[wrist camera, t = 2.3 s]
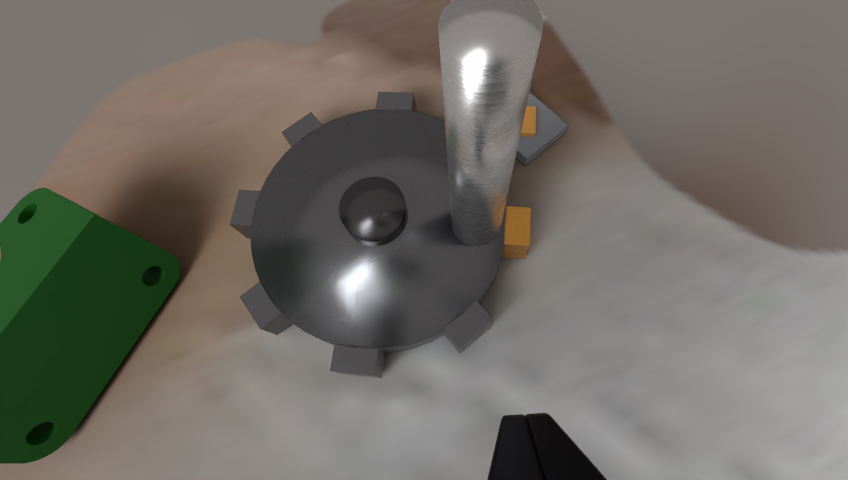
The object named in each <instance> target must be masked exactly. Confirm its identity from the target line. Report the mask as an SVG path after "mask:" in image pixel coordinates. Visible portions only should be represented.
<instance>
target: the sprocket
mask: <svg viewBox="0 0 848 480" xmlns="http://www.w3.org/2000/svg"><path fill="white" fill-rule="evenodd" d="M438 29H439V44H440V59H441V73H442V88H443V103H444V117H445V122H444V121H442V120H440V119H438V118H436V117H433V116H430V115H427V114H424V113H419V112H416V105H415V99H414V93H396V92H378V98H377V104H376V109H375V110H367V111H361V112H357V113H353V114H349V115H346V116H343V117H340V118H337V119H335V120H332V121H330V122H328V123H326V124H324V125H322V124H321V123H320V122H319V121H318V119H317V118H316V117H315V116H314V115H313V114H312V113H311V112H310V113H309V114H307V115H306V116H305V117H303V118H302V119H300V120H299V121H297V122H296V123H294V124H293V125H292V126H290V127H289V128H287V129H286V130H284V131H283V132H282V134H283V135H284V137H285V138H286V140H287V141H288V143H289V144H290V145H291V148H290V149H289V150H288V151H287V152H286V153H285V154H284V155H283V157H282V158H281V159H280V160H279V161H278V163H277V164H276V165H275V166H274V168H273V169H272V171H271V173H270V174H269V176H268V177H267V179H266V181H265V183H264V185H263V187H262V189H261V191H250V190H239V193H238V197H237V200H236V204H235V207H234V211H233V214H232V218H231V222H230V225H231V226H232V227H233V228H235V229H236V230H237V231H239V232H240V233H241V234H243V235H244V236H245V237H247V238H251V249H252V257H253V261H254V266H255V270H256V272H257V275H258V277H259V280H260V282H259V283H257V284H256V285H255V286H253V287H252V288H251V289H249V290H248V291H247V292H245V293H244V294H243V295H241V296H240V298H241V300H242V301H243V303H244V304H245V306H246V307H247V309H248V311H249V312H250V314H251V315H252V317H253V318H254V320H255V321H256V323H257V324H258V326H259V328H260V329H262V330H265V331H268V332H271V333H273V334H276V335H278V334H279V333H281V332H282V331H283V330H285V329H286V328H287V327H288V326H290V325H291V324H292V323H293V324H295V325H296V326H298V327H299V328H301V329H302V330H304V331H305V332H307V333H309V334H311V335H313V336H315V337H317V338H319V339H321V340H323V341H326V342H328V343H330V344H333V345H334V351H333V357H332V363H331V368H330V371H333V372H337V373H342V374H351V375H360V376H369V377H378V378H382V373H383V365H384V358H385V353H389V352H399V351H403V350H407V349H412V348H416V347H418V346H421V345H424V344H426V343H429V342H431V341H433V340H435V339H437V338H439V337H441V336H443V335H445V336H446V337H447V338H448V339H449V341H450V342H451V343H452V344H453V346H454V347H455V348H456V349H457V350H458V352H459V353H461V352H462V351H464V350H465V349H466V348H467V347H468V346H469V345H471V344H472V343H473V342H474V341H475V340H476V339H478V338H479V337H480V336H481V335H482V334H483V333H485V332H486V331H487V330H488V329H489V328H490V327H491V326H492V323H493V319H492V318H491V317H490V315H489V314H488V313H487V312H486V311H485V310H484V309H483V307H482V306H481V305H480V304H479V303H480V302H481V301H482V299H483V298H484V296H485V295H486V293H487V291H488V290H489V288H490V286H491V285H492V282H493V280H494V278H495V275H496V273H497V271H498V267H499V264H500V260H501V257H506V258H519V259H525V256H526V254H527V252H528V249H529V247H530V222H531V208H528V207H512V206H506V200H507V195H508V191H509V186H510V181H511V177H512V172H513V167H514V162H515V158H516V153H517V148H518V144H519V139H520V134H521V129H522V125H523V120H524V115H525V111H526V106H527V101H528V96H529V92H530V87H531V82H532V78H533V73H534V68H535V63H536V59H537V54H538V49H539V45H540V40H541V35H542V30H543V18H542V14H541V12H540V10H539V8H538V7H537V5H536V4H535V3H534V1H533V0H451V1H450V2H449V3H448V5H447V6H446V7H445V8H444V10H443V12H442V14H441V16H440V19H439V27H438Z"/></svg>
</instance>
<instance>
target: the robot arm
mask: <svg viewBox="0 0 848 480" xmlns="http://www.w3.org/2000/svg"><path fill="white" fill-rule="evenodd" d="M488 480H607V479H606V478H605V477H604V476H603V475H602V474H601V472H600V471H599V470H598V469H597V468H596V467H595V466H594V465H593V463H592V462H591V461H590V460H589V459H588V458H587V457H586V456H585V454H584V453H583V452H582V451H581V450H580V449H579V448H578V446H577V445H576V444H575V443H574V442H573V441H572V440H571V439H570V437H569V436H568V435H567V434H566V433H565V432H564V431H563V430H562V428H561V427H560V426H559V425H558V424H557V423H556V422H555V420H554V419H553V418H552V417H551V416H550V415H549V414H547V413H536V414H527V415H526V416H524V415H506V416H503V418H502V419H501V423H500V428H499V432H498V436H497V441H496V445H495V449H494V454H493V458H492V462H491V467H490V471H489V475H488Z"/></svg>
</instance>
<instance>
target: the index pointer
mask: <svg viewBox="0 0 848 480" xmlns="http://www.w3.org/2000/svg"><path fill="white" fill-rule="evenodd" d="M568 126H569V125H568V124H566V123H565V122H564V121H563V120H562V119H561V118H559V117H558V116H557V115H556V114H555V113H554V112H552V111H551V110H550V109H549V108H548V107H547V106H545V105H544V104H543V103H542V102H541V101H540V100H538V99H537V98H536V97H535V96H534V95H533V94H531V93H530V92H529V96H528V101H527V106H526V111H525V115H524V120H523V125H522V129H521V134H520V139H519V144H518V148H517V153H516V158H517V159H518V160H519V161H520V162H521V163H522V164H523V165H524V166H525V165H526V164H528V163H529V162H530V161H531V160H533V159H534V158H535V157H536V156H538V155H539V154H540V153H541V152H543V151H544V150H545V149H547V148H548V147H549V146H550V145H552V144H553V143H554V142H555V141H557V140H558V139H559V138H560V137H562V136H563V135H564V134H566V131H567V128H568Z"/></svg>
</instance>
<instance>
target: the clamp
mask: <svg viewBox="0 0 848 480" xmlns="http://www.w3.org/2000/svg"><path fill="white" fill-rule="evenodd" d="M0 247H1V262H0V463H28V462H33V461H36V460H39V459H41V458H44V457H46V456H48V455H49V454H51V453H53V452H54V451H56V450H57V449H58V448H60V447H61V446H62V445H63V444H64V443H65V442H66V441H67V440H68V439H69V438H70V436H71V435H72V433H73V432H74V430H75V429H76V428H77V426H78V425H79V423H80V422H81V420H82V419H83V417H84V416H85V415H86V413H87V412H88V410H89V409H90V407H91V406H92V404H93V403H94V402H95V400H96V399H97V397H98V396H99V394H100V393H101V391H102V390H103V389H104V387H105V386H106V384H107V383H108V381H109V380H110V378H111V377H112V376H113V374H114V373H115V371H116V370H117V368H118V367H119V365H120V364H121V362H122V361H123V360H124V358H125V357H126V355H127V354H128V352H129V351H130V349H131V348H132V347H133V345H134V344H135V342H136V341H137V339H138V338H139V336H140V335H141V334H142V332H143V331H144V329H145V328H146V326H147V325H148V323H149V322H150V321H151V319H152V318H153V316H154V315H155V313H156V312H157V310H158V309H159V308H160V306H161V305H162V303H163V302H164V300H165V299H166V297H167V296H168V294H169V293H170V292H171V290H172V289H173V287H174V286H175V284H176V283H177V281H178V278H179V275H180V265H179V262H178V260H177V259H176V257H175V256H174V255H172V254H171V253H169V252H167V251H165V250H164V249H162V248H160V247H158V246H156V245H154V244H152V243H151V242H149V241H147V240H145V239H143V238H141V237H139V236H137V235H135V234H133V233H131V232H129V231H127V230H125V229H123V228H122V227H120V226H118V225H116V224H114V223H112V222H110V221H108V220H106V219H104V218H102V217H100V216H98V215H96V214H95V213H93V212H91V211H89V210H87V209H85V208H84V207H82V206H80V205H78V204H76V203H74V202H72V201H70V200H69V199H67V198H65V197H63V196H61V195H59V194H57V193H55V192H53V191H51V190H49V189H47V188H39V189H36V190H34V191H32V192H30V193H29V194H27V195H26V196H25V197H24V198H23V199H22V200H20V202H18V204H17V205H16V206H15V207H14V208H13V209H12V210H11V212H10V213H9V214H8V215H7V216H6V218H5V219H4V220H3V221H2V222H1V223H0Z"/></svg>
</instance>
